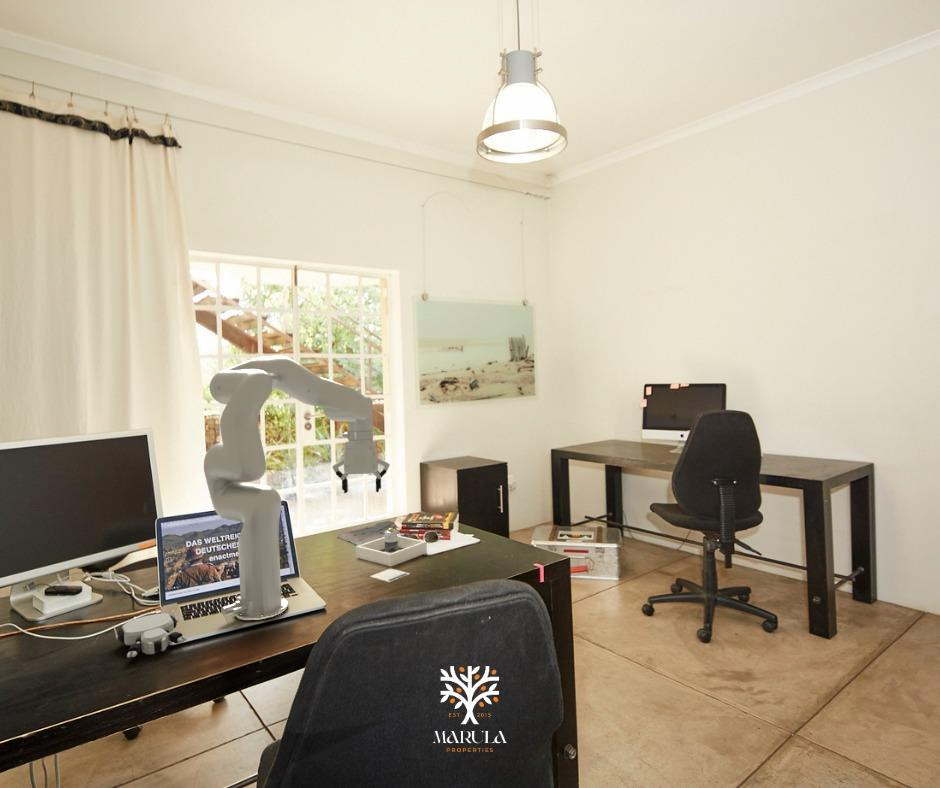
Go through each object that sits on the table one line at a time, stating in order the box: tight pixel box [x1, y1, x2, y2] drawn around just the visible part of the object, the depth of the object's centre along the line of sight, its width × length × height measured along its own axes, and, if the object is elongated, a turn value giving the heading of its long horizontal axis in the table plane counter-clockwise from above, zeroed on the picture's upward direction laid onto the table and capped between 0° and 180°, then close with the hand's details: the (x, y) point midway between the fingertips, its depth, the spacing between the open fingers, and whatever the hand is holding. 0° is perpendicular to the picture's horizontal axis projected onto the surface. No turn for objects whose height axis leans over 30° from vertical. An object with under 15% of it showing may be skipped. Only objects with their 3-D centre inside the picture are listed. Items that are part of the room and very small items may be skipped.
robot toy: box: [113, 610, 188, 658], centre depth 127 cm, size 12×4×15 cm
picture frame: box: [336, 520, 400, 546], centre depth 209 cm, size 16×2×22 cm
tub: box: [355, 536, 428, 567], centre depth 182 cm, size 16×16×4 cm
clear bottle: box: [384, 528, 399, 554], centre depth 182 cm, size 4×4×9 cm
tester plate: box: [369, 568, 411, 583], centre depth 164 cm, size 8×8×1 cm
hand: (361, 491), depth 178 cm, fingers open, 9 cm apart
